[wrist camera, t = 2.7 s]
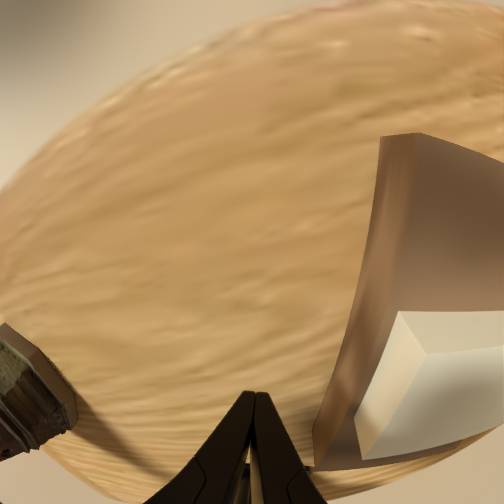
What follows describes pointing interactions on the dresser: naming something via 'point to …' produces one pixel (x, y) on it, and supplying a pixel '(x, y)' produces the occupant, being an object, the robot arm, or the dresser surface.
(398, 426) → the tile
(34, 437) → the dark bronze flared piece
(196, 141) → the dresser surface
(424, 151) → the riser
